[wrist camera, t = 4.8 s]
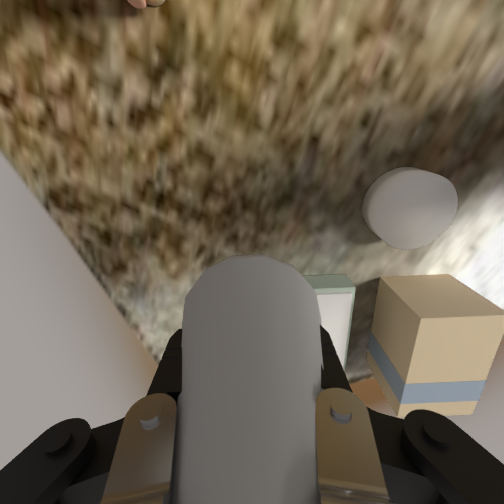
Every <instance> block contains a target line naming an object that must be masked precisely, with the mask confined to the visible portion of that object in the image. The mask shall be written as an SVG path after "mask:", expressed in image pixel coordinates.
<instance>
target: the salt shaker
mask: <svg viewBox="0 0 504 504" xmlns="http://www.w3.org/2000/svg"><path fill="white" fill-rule="evenodd" d="M320 325H321V326H322V322H321V315H320V310H319V305H318V300H317V295H316V292H315V290H314V289H313V288H312V286H311V285H310V284H309V283H308V282H307V281H306V280H305V279H304V277H303V276H302V275H301V274H300V273H299V272H298V271H297V270H296V269H295V268H294V266H293V265H290V264H288V263H285V262H282V261H280V260H277V259H275V258H272V257H270V256H267V255H265V254H262V253H256V254H252V255H237V256H231V257H229V258H227V259H225V260H223V261H221V262H219V263H217V264H215V265H213V266H211V267H209V268H207V269H205V271H204V272H203V273H202V275H201V276H200V278H199V279H198V280H197V282H196V283H195V285H194V286H193V287H192V289H191V290H190V292H189V293H188V294H187V296H186V297H185V304H184V313H183V322H182V329H183V330H182V344H181V348H182V392H181V393H180V395H179V396H178V402H177V411H178V427H177V442H176V457H175V472H174V486H173V501H172V504H319V496H318V471H317V446H316V422H315V406H316V398H317V396H318V395H319V394H320V393H321V392H322V391H324V389H322V388H321V364H322V367H323V358H322V348H321V336H320ZM323 370H324V368H323Z"/></svg>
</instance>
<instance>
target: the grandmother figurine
mask: <svg viewBox="0 0 504 504" xmlns="http://www.w3.org/2000/svg"><path fill="white" fill-rule="evenodd" d="M127 1H128V2H129V3H130V4H131V5H132V6H134V7H136V8H142V9H143V8H145V7H146V6H147V5H146V4H148V5H151V6H160V5H162V4H163V3H164V2H165V0H127Z"/></svg>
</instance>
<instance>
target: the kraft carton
mask: <svg viewBox="0 0 504 504" xmlns="http://www.w3.org/2000/svg"><path fill="white" fill-rule="evenodd" d="M503 333H504V310H503V309H501V308H499V307H498V306H496V305H495V304H493V303H492V302H490V301H489V300H487V299H486V298H484V297H483V296H481V295H480V294H478V293H477V292H475V291H474V290H472V289H471V288H469V287H468V286H466V285H464V284H463V283H461V282H460V281H458V280H457V279H455V278H454V277H452V276H451V275H449V274H440V275H416V276H391V277H380V280H379V286H378V292H377V298H376V304H375V310H374V317H373V323H372V329H371V332H370V338H369V344H368V354H367V360H366V362H367V363H368V365H369V367H370V369H371V371H372V372H373V374H374V376H375V378H376V380H377V382H378V383H379V385H380V387H381V389H382V391H383V392H384V394H385V396H386V398H387V400H388V401H389V403H390V405H391V407H392V409H393V411H394V412H395V414H396V416H397V418H399V417H405V416H406V415H407V414H408V413H409V412H410V411H413V410H417V409H425V410H430V411H434V412H436V413H439V414H441V415H464V414H465V415H466V414H473V411H474V408H475V406H476V403H477V401H479V398H480V396H481V393H482V391H483V388H484V386H485V383H486V377H487V375H488V372H489V369H490V367H491V364H492V362H493V359H494V357H495V354H496V352H497V349H498V346H499V344H500V341H501V339H502V336H503Z"/></svg>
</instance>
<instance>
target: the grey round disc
mask: <svg viewBox="0 0 504 504" xmlns="http://www.w3.org/2000/svg"><path fill="white" fill-rule="evenodd" d="M457 206H458V197H457V193H456V190H455V188H454V186H453V184H452V183H451V182H450V181H449V180H448V179H446V178H445V177H443V176H441V175H438V174H435V173H431V172H428V171H425V170H421V169H418V168H414V167H399V168H395V169H392V170H390V171H388V172H386V173H384V174H383V175H381V176H380V177H379V178H378V179H376V180H375V181H374V183H373V184H372V185H371V186H370V188H369V189H368V191H367V193H366V195H365V197H364V200H363V205H362V213H363V217H364V220H365V222H366V224H367V226H368V227H369V228H370V229H371V230H372V231H373V232H374V233H375V234H376V235H378V236H379V237H380V238H381V239H382V240H383V241H384V242H385V243H387V244H388V245H390V246H392V247H394V248H397V249H404V250H409V249H416V248H420V247H423V246H425V245H427V244H429V243H431V242H433V241H434V240H436V239H437V238H438V237H440V236H441V235H442V234H443V233H444V232H445V231H446V230H447V229H448V227H449V226H450V224H451V223H452V221H453V219H454V217H455V214H456V211H457Z"/></svg>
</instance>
